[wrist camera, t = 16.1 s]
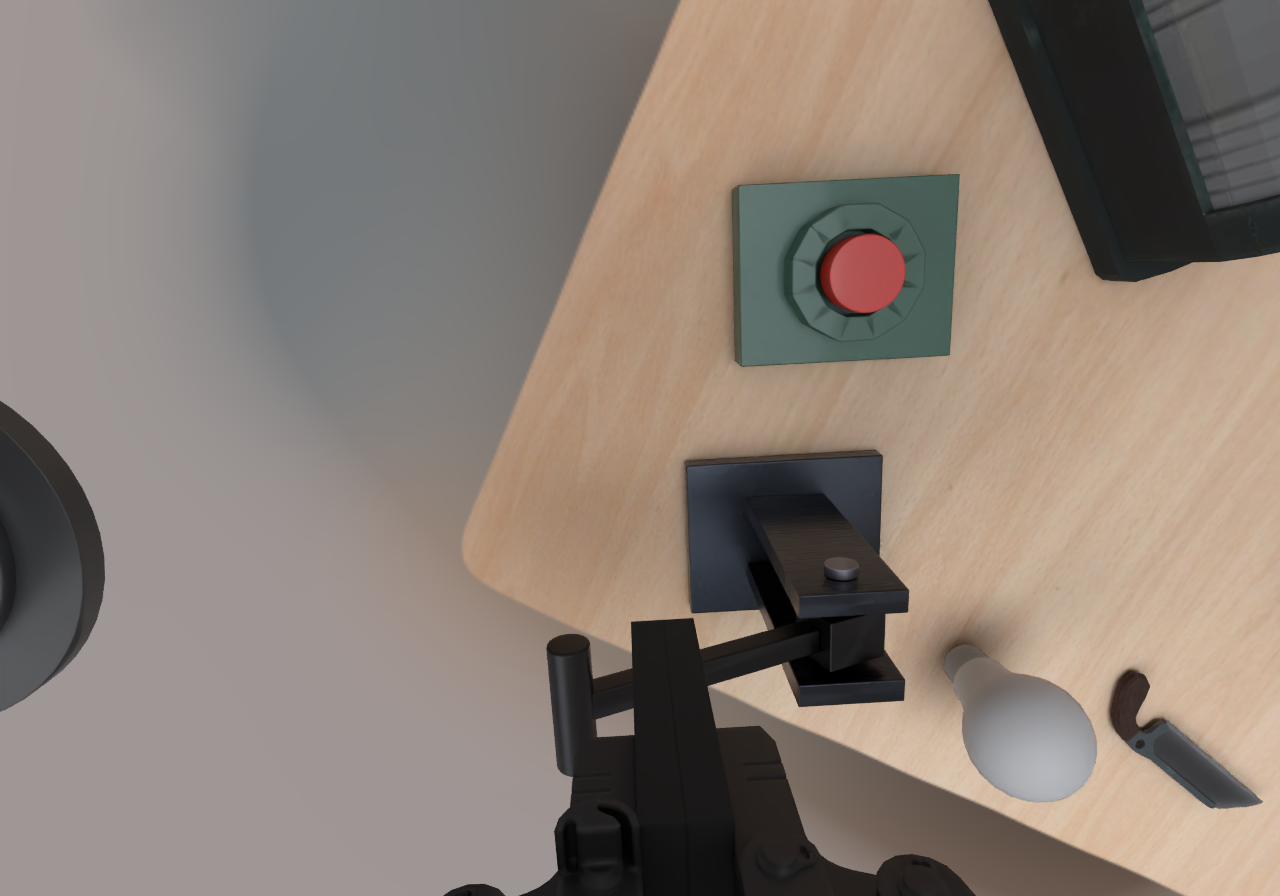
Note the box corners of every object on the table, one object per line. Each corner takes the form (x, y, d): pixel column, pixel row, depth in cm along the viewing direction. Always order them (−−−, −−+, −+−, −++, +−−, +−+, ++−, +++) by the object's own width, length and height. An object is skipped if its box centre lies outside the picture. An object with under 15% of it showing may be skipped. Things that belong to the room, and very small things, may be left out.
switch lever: (549, 751, 28) (567, 790, 26) (537, 634, 27) (556, 664, 25) (847, 659, 34) (883, 685, 31) (849, 557, 32) (887, 577, 30)
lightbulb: (946, 717, 46) (1042, 853, 36) (889, 652, 45) (972, 773, 35) (1026, 659, 46) (1150, 781, 35) (970, 591, 44) (1081, 696, 34)
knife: (1085, 709, 46) (1092, 716, 46) (1133, 665, 46) (1140, 671, 45) (1225, 825, 49) (1233, 833, 48) (1272, 784, 48) (1281, 792, 48)
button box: (734, 361, 40) (747, 371, 37) (731, 189, 38) (744, 181, 34) (932, 350, 41) (965, 360, 37) (941, 178, 38) (977, 169, 35)
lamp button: (819, 312, 36) (829, 315, 35) (820, 237, 35) (830, 236, 34) (891, 308, 36) (904, 311, 35) (893, 233, 36) (907, 232, 34)
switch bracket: (689, 604, 44) (719, 754, 31) (684, 460, 42) (714, 554, 28) (871, 594, 44) (980, 738, 31) (876, 449, 42) (995, 538, 29)
